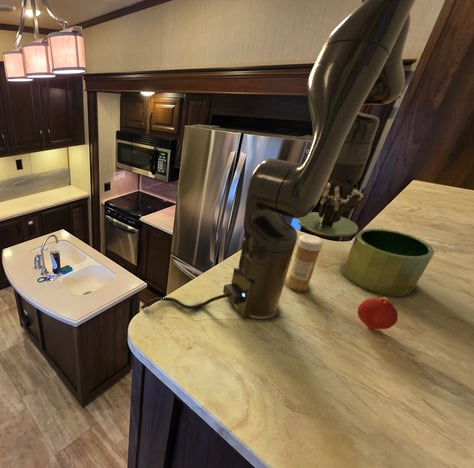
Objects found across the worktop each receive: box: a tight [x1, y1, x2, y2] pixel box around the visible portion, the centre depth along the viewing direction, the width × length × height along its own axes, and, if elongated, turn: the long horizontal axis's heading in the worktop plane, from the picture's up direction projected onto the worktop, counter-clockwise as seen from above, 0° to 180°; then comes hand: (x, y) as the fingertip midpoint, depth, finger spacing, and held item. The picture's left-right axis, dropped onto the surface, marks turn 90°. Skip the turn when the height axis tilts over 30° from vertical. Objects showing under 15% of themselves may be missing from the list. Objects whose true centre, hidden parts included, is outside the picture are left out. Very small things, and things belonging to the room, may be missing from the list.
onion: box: [357, 296, 398, 330], centre depth 57 cm, size 6×6×8 cm
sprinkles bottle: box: [286, 234, 324, 292], centre depth 68 cm, size 5×5×13 cm
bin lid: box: [297, 200, 359, 238], centre depth 82 cm, size 14×14×7 cm
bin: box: [342, 228, 436, 297], centre depth 69 cm, size 13×13×10 cm
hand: (327, 219), depth 82 cm, fingers closed on bin lid, 3 cm apart
